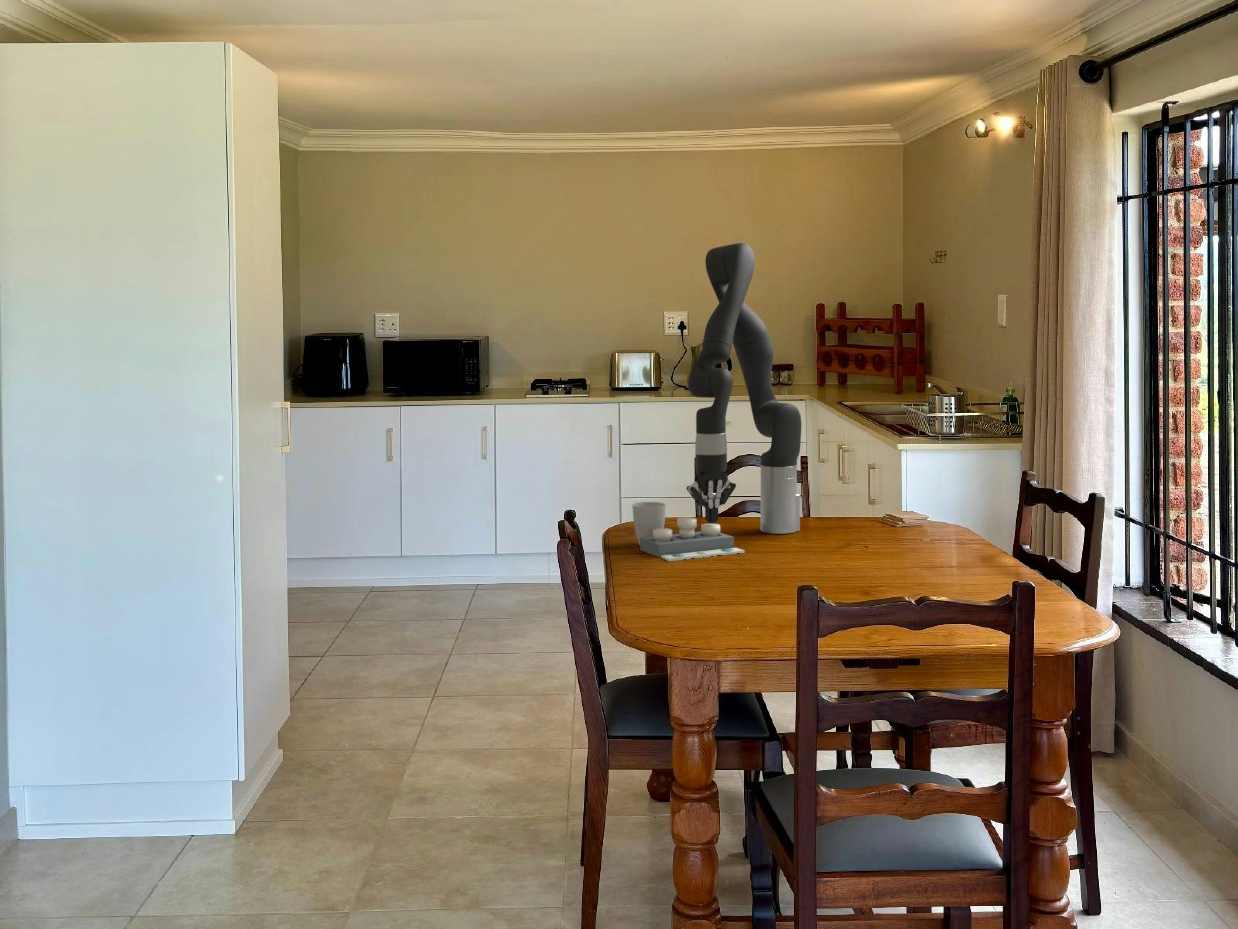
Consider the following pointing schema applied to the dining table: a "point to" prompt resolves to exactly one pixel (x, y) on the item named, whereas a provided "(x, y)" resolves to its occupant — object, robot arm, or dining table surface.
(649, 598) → the dining table surface
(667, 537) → the button
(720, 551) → the strip
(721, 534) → the board
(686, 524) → the button
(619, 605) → the dining table surface
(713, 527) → the button
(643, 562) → the dining table surface
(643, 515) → the cup
